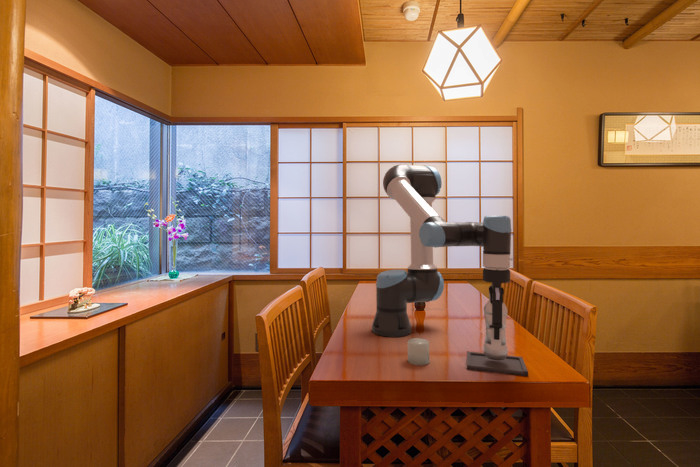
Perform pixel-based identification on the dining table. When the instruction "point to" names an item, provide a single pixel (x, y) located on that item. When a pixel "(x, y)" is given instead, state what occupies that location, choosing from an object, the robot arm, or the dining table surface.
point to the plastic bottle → (487, 344)
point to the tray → (496, 364)
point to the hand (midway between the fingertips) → (495, 346)
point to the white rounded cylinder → (418, 351)
